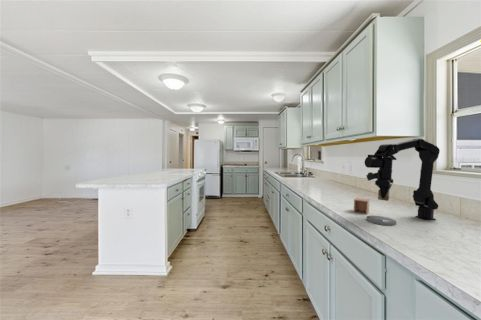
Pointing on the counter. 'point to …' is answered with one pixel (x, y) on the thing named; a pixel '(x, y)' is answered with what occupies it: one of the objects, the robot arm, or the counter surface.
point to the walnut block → (385, 196)
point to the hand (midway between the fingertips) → (383, 197)
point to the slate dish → (381, 220)
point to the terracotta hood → (361, 204)
